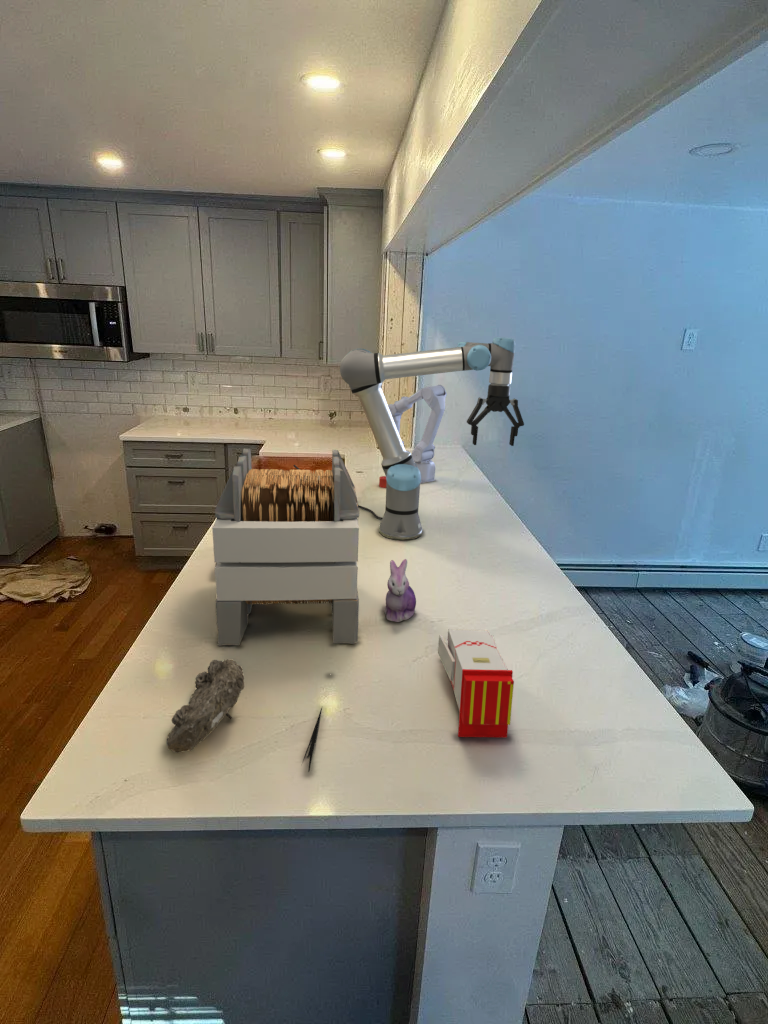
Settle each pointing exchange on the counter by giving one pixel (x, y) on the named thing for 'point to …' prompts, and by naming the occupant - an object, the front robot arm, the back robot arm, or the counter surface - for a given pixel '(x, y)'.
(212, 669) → the fossil
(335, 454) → the record crate
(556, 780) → the counter surface
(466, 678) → the toy
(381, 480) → the can
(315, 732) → the feather
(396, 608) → the figurine
